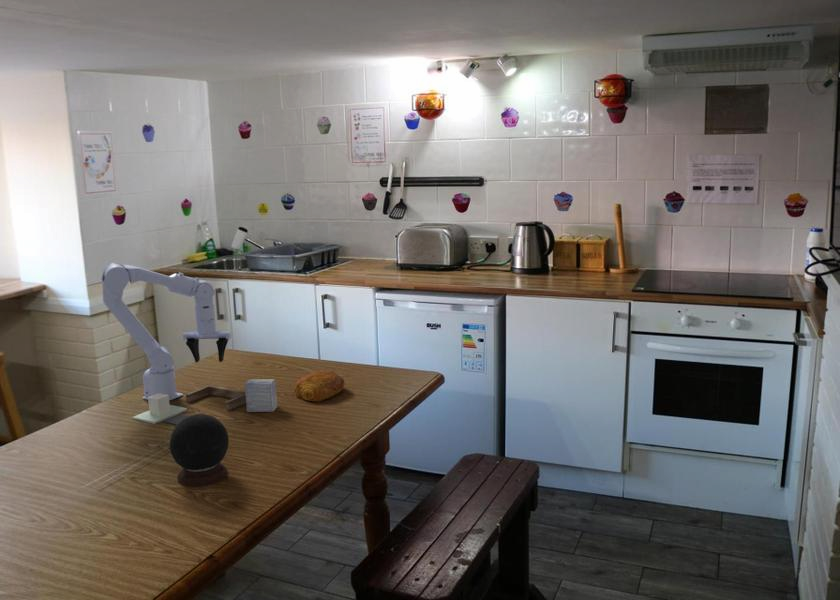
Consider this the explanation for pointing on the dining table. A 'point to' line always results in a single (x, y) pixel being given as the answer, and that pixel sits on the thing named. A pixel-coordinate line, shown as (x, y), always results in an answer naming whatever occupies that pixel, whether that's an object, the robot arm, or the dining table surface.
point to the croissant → (319, 386)
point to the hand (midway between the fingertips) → (209, 361)
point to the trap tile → (175, 419)
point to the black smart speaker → (199, 450)
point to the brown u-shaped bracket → (236, 395)
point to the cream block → (159, 404)
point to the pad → (155, 419)
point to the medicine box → (261, 395)
